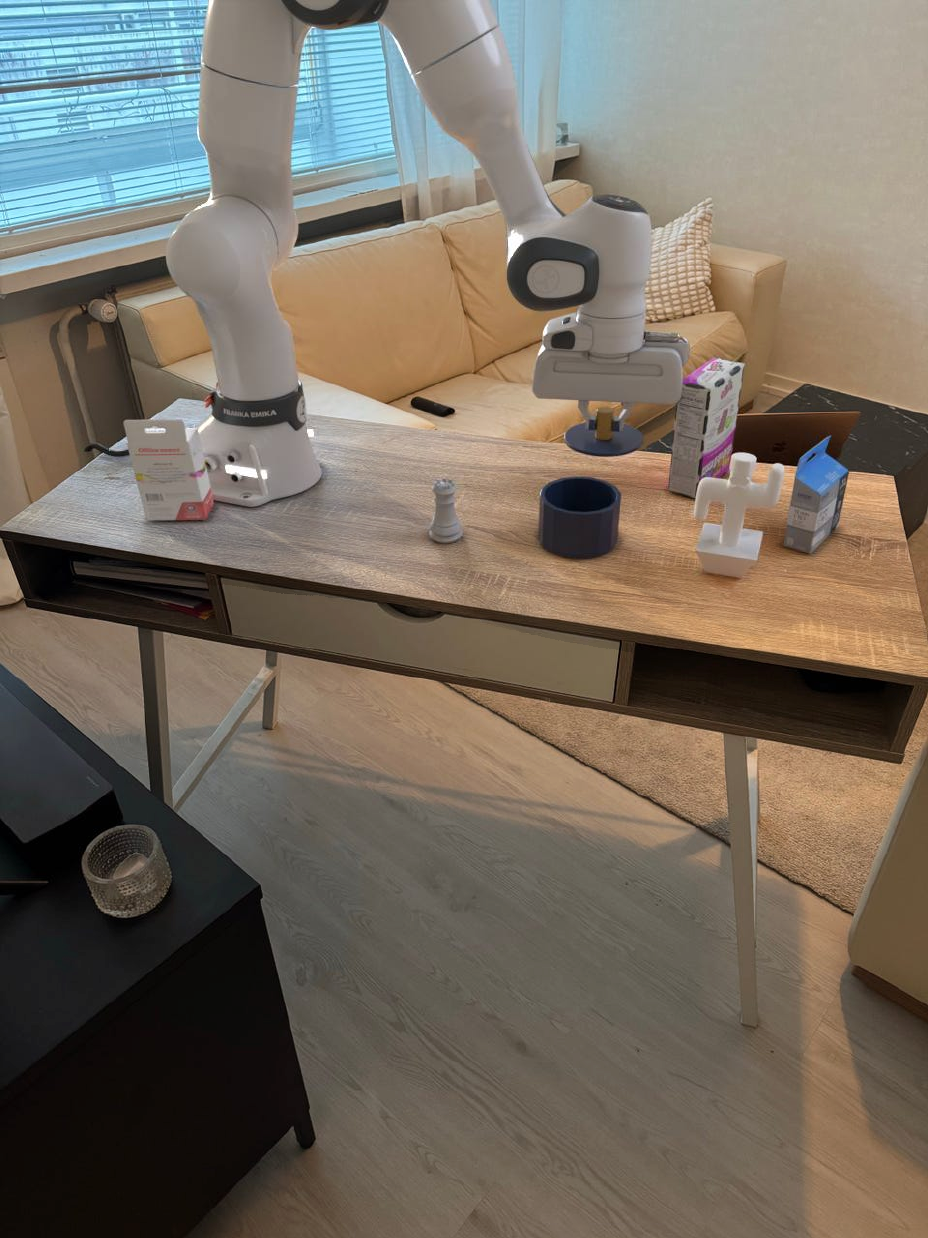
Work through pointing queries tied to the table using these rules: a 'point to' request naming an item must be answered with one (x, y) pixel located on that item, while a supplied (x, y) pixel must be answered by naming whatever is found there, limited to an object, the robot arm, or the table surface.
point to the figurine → (734, 516)
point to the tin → (579, 517)
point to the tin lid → (603, 437)
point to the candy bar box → (705, 425)
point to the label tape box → (815, 499)
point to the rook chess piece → (445, 513)
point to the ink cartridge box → (169, 469)
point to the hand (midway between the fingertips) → (603, 429)
